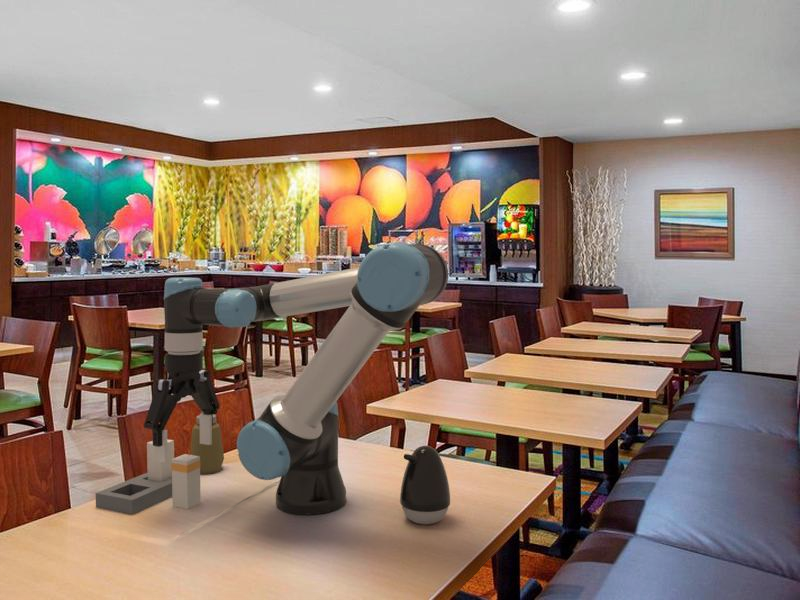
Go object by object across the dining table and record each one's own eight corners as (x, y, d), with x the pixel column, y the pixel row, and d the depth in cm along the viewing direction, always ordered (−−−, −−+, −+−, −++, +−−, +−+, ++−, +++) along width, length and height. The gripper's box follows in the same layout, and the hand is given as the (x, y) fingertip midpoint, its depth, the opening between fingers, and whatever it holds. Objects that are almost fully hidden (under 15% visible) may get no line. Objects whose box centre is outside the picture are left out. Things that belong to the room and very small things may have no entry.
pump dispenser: (389, 517, 138) (389, 444, 137) (428, 506, 144) (429, 436, 143) (419, 534, 130) (420, 456, 129) (460, 521, 136) (461, 447, 135)
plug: (200, 507, 143) (200, 456, 142) (187, 513, 139) (186, 461, 139) (185, 504, 145) (184, 453, 144) (172, 510, 141) (171, 459, 140)
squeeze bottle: (214, 480, 160) (213, 405, 159) (183, 478, 161) (182, 404, 160) (229, 469, 168) (229, 398, 167) (200, 467, 169) (198, 397, 168)
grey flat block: (193, 491, 153) (192, 473, 152) (132, 519, 136) (132, 500, 136) (158, 484, 156) (158, 468, 156) (96, 511, 140) (95, 493, 140)
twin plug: (174, 488, 151) (173, 427, 150) (161, 494, 148) (160, 431, 147) (160, 485, 153) (159, 425, 152) (147, 491, 149) (146, 429, 148)
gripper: (208, 343, 153) (208, 435, 154) (123, 358, 130) (125, 466, 131) (235, 345, 150) (235, 439, 151) (153, 361, 127) (154, 472, 128)
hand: (184, 452), depth 141 cm, fingers open, 13 cm apart
